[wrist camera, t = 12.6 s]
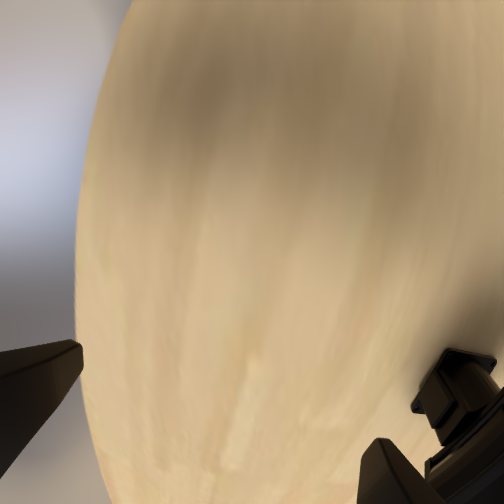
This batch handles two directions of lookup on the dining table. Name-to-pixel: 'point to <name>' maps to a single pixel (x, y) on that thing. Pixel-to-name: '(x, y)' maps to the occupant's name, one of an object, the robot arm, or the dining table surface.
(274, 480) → the dining table surface
